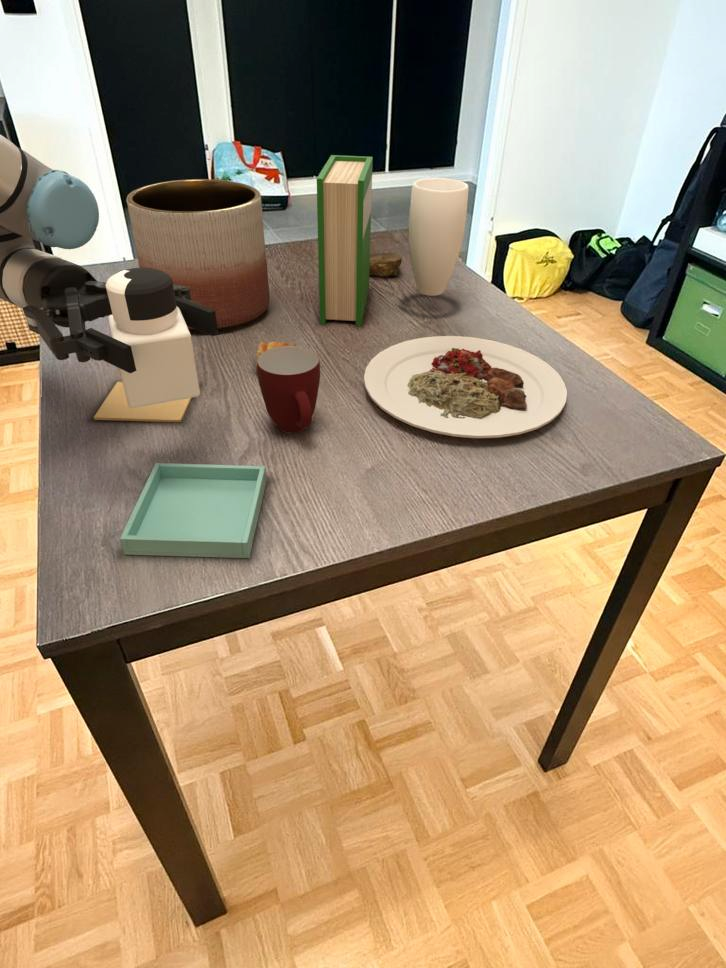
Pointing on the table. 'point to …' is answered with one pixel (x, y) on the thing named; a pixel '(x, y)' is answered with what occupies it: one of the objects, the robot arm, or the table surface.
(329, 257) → the hardback book
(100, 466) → the table surface
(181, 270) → the planter
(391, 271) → the decorative stone
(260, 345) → the pastry
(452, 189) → the cup
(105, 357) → the robot arm
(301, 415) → the mug
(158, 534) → the tray
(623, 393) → the table surface
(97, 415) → the mat
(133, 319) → the container
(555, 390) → the plated food
